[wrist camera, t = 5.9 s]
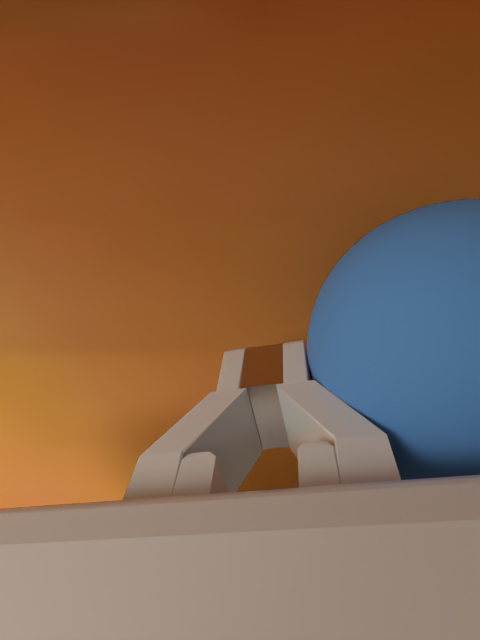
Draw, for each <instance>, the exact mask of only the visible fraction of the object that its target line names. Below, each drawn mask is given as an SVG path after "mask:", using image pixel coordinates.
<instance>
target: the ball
mask: <svg viewBox="0 0 480 640" xmlns="http://www.w3.org/2000/svg"><path fill="white" fill-rule="evenodd" d="M307 361H308V368H309V374H310V380H315V381H317V382H318V383H319V384H321V385H322V386H323V387H325V388H326V389H327V390H329V391H330V392H331V393H333V394H334V395H335V396H337V397H338V398H339V399H341V400H342V401H343V402H345V403H346V404H347V405H349V406H350V407H351V408H353V409H354V410H355V411H356V412H358V413H359V414H360V415H362V416H363V417H364V418H366V419H367V420H368V421H370V422H371V423H372V424H374V425H375V426H376V427H378V428H379V429H380V430H382V431H383V432H384V433H386V434H387V437H388V440H389V443H390V446H391V449H392V452H393V456H394V459H395V462H396V465H397V468H398V471H399V474H400V477H401V480H410V479H425V478H439V477H453V476H468V475H480V199H462V200H455V201H447V202H440V203H435V204H431V205H427V206H424V207H420V208H417V209H414V210H412V211H409V212H407V213H404V214H402V215H399V216H397V217H395V218H393V219H391V220H389V221H387V222H385V223H383V224H381V225H380V226H378V227H376V228H375V229H374V230H372V231H371V232H369V233H368V234H366V235H365V236H364V237H362V238H361V239H360V240H359V241H358V242H357V243H355V244H354V245H353V246H352V247H351V248H350V249H349V250H348V251H347V252H346V253H345V254H344V255H343V256H342V257H341V258H340V260H339V261H338V262H337V264H336V265H335V266H334V268H333V269H332V270H331V272H330V273H329V275H328V277H327V278H326V280H325V282H324V283H323V285H322V287H321V289H320V292H319V294H318V296H317V298H316V301H315V304H314V307H313V310H312V314H311V317H310V321H309V328H308V335H307Z"/></svg>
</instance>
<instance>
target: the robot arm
mask: <svg viewBox="0 0 480 640" xmlns="http://www.w3.org/2000/svg"><path fill="white" fill-rule="evenodd" d="M285 447H290V450H291V451H292V452H293V453H294V455H295V456H296V457H297V459H298V481H299V487H297V488H283V489H269V490H255V491H242V492H237V490H238V489H239V487H240V486H241V484H242V483H243V481H244V480H245V478H246V477H247V475H248V474H249V472H250V470H251V469H252V467H253V466H254V464H255V463H256V461H257V460H258V458H259V457H260V455H261V454H262V452H263V450H264V449H272V448H285ZM0 640H480V475H468V476H453V477H439V478H425V479H410V480H401V477H400V474H399V471H398V468H397V465H396V462H395V459H394V456H393V452H392V449H391V446H390V443H389V440H388V437H387V434H386V433H384V432H383V431H382V430H380V429H379V428H378V427H376V426H375V425H374V424H372V423H371V422H370V421H368V420H367V419H366V418H364V417H363V416H362V415H360V414H359V413H358V412H356V411H355V410H354V409H353V408H351V407H350V406H349V405H347V404H346V403H345V402H343V401H342V400H341V399H339V398H338V397H337V396H335V395H334V394H333V393H331V392H330V391H329V390H327V389H326V388H325V387H323V386H322V385H321V384H319V383H318V382H317V381H315V380H310V374H309V368H308V361H307V354H306V348H305V342H304V340H298V341H293V342H287V343H283V344H275V345H266V346H258V347H249V348H240V349H233V350H227V351H225V353H224V356H223V360H222V365H221V370H220V375H219V380H218V385H217V390H216V392H210V393H209V394H208V395H207V396H206V397H205V398H203V399H202V400H201V401H200V402H199V403H198V404H197V405H196V406H195V407H193V408H192V409H191V410H190V411H189V412H188V413H187V414H186V415H185V416H183V417H182V418H181V419H180V420H179V421H178V422H177V423H176V424H175V425H173V426H172V427H171V428H170V429H169V430H168V431H167V432H166V433H165V434H163V435H162V436H161V437H160V438H159V439H158V440H157V441H156V442H154V443H153V444H152V445H151V446H150V447H149V448H148V449H147V450H146V451H144V452H143V453H142V454H141V455H140V456H139V458H138V461H137V463H136V466H135V469H134V471H133V474H132V477H131V479H130V482H129V484H128V487H127V490H126V492H125V495H124V497H123V500H117V501H103V502H89V503H74V504H60V505H46V506H32V507H18V508H4V509H0Z"/></svg>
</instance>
